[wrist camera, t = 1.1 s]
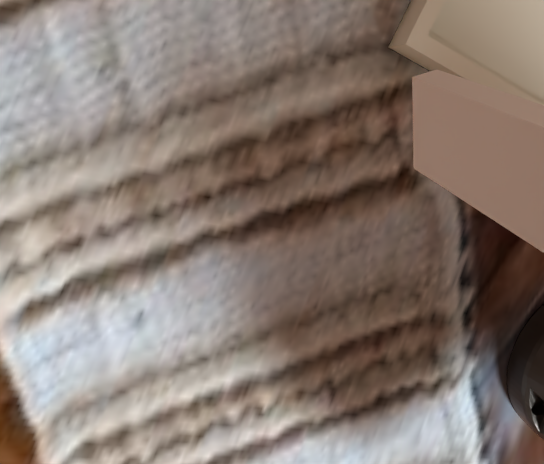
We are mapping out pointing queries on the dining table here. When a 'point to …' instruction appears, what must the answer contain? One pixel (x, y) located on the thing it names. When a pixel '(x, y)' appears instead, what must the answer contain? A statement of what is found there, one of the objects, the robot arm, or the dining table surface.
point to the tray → (478, 42)
